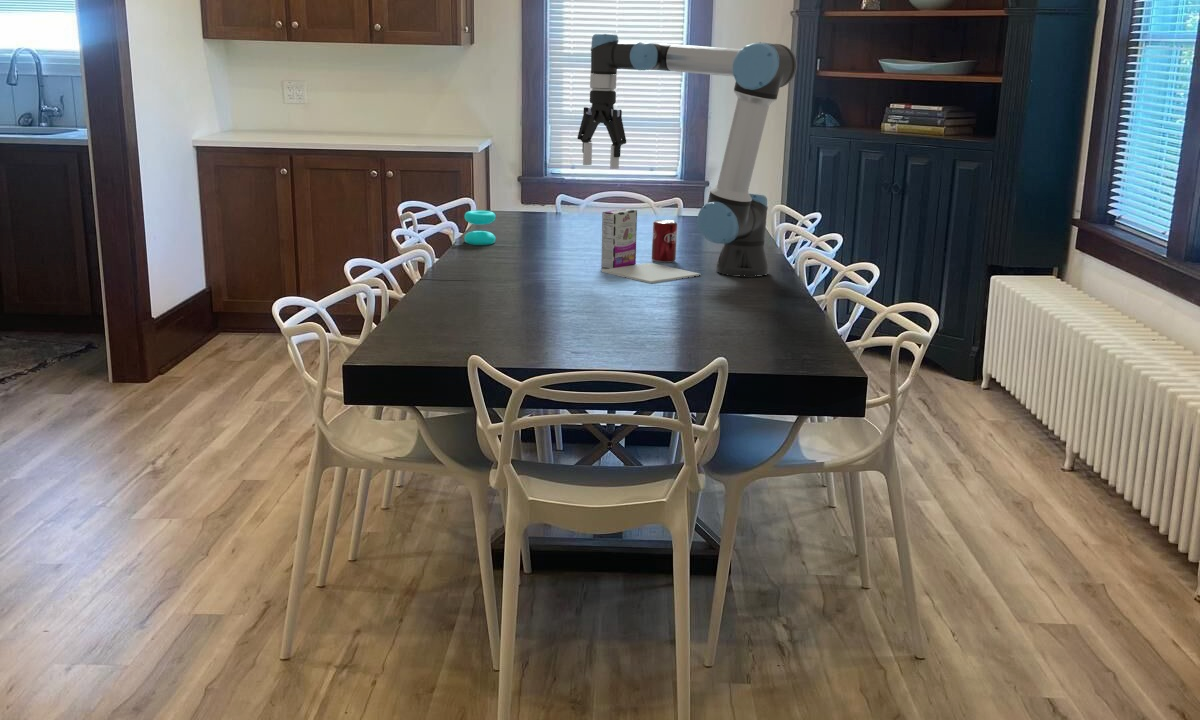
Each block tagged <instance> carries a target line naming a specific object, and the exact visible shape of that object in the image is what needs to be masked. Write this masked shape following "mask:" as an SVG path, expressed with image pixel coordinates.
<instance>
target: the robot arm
mask: <svg viewBox="0 0 1200 720" xmlns="http://www.w3.org/2000/svg"><path fill="white" fill-rule="evenodd" d="M797 61H798V60H797V57H796V55H795V53H794V52H793V50H792V49H790V48H789V47H788V46H787V45H784V44H781V43H767V42H761V41H760V42H756V43H755V42H753V43H750V44H747V45H745V46H744V47H742V48H730V47H715V46H704V45H703V46H702V45H701V46H700V45H688V44H687V45H686V44H677V43H676V44H674V43H673V44H671V43H665V42H647V41H619V36H618V35H617V34H616V33H615V34H613V33H595V34H593V36H592V37H591V47H590V77H589V80H590V81H589V88H591V90H590V91H589V103H590V104H591V106H584V107H583V112H582V113H583V116H582V119H581V123H580V125H579V126H580V127H579V130H578V133H577V140H580V142H581V143H582V151H581V152H582V155H583V156H582V165H583V166H591V165H592V161H593V160H592V157H593V155H592V154H593V141H592V138H593V136H594V134H595V132H596V130H597V128H598V126H599V125H600V124H603V126H605V127H606V129H607V132H608V136H609V137H610V140H611V146H610V156H609V157H610V161H609V169H610V170H619V168H620V157H621V146H623V145H625V144H627V138H626V137H627V136H626V133H625V128H624V123H623V118H622V114H623V111H622V109H621V108H619V109H615V108H614V105H615V104H616V103H617V101H616V100H617V92H616V90H615V89H617V75H618V74H617V73H618V70H632V71H633V70H636V71H649V70H650V71H663V72H677V73H679V72H680V73H687V74H690V73H691V74H700V75H712V76H722V77H723V76H724V77H734V80H735V83H734V87H733V93H734V94H735V96H736V97H737V101H736V106H735V109H734V112H733V117H732V121H731V125H730V131H729V134H728V138H727V143H726V147H725V151H724V155H723V160H722V164H721V166H720V167H721V168H720V173H719V176H718V179H717V180H718V181H717V185H715V186H714V187H713V188H710V191H709V196H708V198H707V203H705V204H704V205H703V206H701V209H699V211H698V214H697V227H698V230H699V231H700V233H701V234H702V237H703V238H705V239H706V240H707V241H708V242H711V243H713V244H717V245H718V244H723V246H722V248H721V251H720V254H719V257H718V260H717V261H716V265H715V272H716V271H717V272H716V273H718V272H719V274H720V273H722V274H721V275H724V274H728V275H727V276H729V275H740V276H744V275H745V276H755V275H756V276H757V275H765V274H768V275H769V270H770V267H769V263H768V258H767V254H766V250H765V242H766V241H765V238H766V229H767V228H766V226H767V217H768V216H767V214H768V198H767V196H766V195H764V194H757V193H756V194H755V193H749V189H750V188H749V187H750V185H751V180H752V177H753V173H754V169H755V164H756V160H757V156H758V153H759V149H760V146H761V145H760V144H761V140H762V136H763V131H764V128H765V124H766V120H767V116H768V111H769V108H770V105H771V104H773V103H774V102H776V101H777V99H778V95H779V93H780V88H783V87H785V86H787V85H788V84H789V83H791V81H793V80H794V77H795V76H796V74H797V69H798V62H797Z"/></svg>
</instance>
